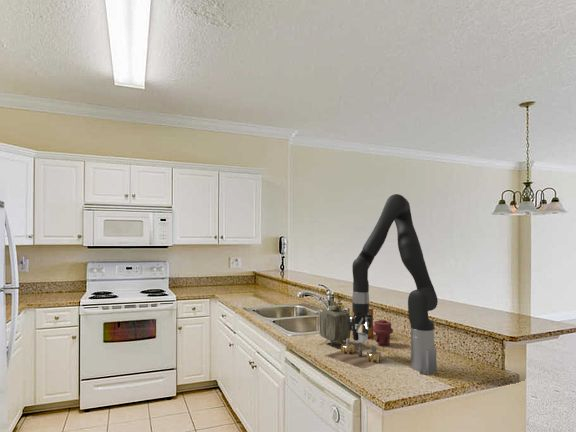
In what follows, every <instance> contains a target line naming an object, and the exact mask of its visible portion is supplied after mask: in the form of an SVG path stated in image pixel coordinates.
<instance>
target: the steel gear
mask: <svg viewBox="0 0 576 432" xmlns="http://www.w3.org/2000/svg"><path fill="white" fill-rule="evenodd" d="M368 339H369V338H368V334H366V333H361V332H358V340H357V341H356V340H354V339H353V341H354V342H355V343H359V342H360V343H362V344H363V343H367V342H368V341H369V340H368Z"/></svg>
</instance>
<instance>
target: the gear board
mask: <svg viewBox="0 0 576 432" xmlns="http://www.w3.org/2000/svg"><path fill="white" fill-rule="evenodd" d="M350 344H351V343H350V338H347V339H346V346H350ZM371 351H372V354H376V352H377V347H376V345H372V346H371ZM324 356H325V357H327V358H331V359H334V360H336V361H339V362H342V363H345V364H348V365H351V366H354V367H356V368H360V369H366V368H369V367H371V366H375V365H378V364H381V363H384V362H386V361H387V360H385V359H382V358H381V362H379V363H376V362H373V363H372V362H370V361H367V353H363V342H362V343H360V342H358V351H356V350H355V353H354V354H343V353H342V352H341V350H340V351H335V352H332V353H328V354H324Z"/></svg>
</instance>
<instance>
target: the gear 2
mask: <svg viewBox="0 0 576 432" xmlns="http://www.w3.org/2000/svg"><path fill="white" fill-rule="evenodd" d="M366 355H367V361H370V362H372V363H373V362H376V363H378V364H380V363H379V362H381V359H382V352H378V351H376V354H372V350H371V351H367V352H366ZM381 363H382V362H381Z"/></svg>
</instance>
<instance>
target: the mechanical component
mask: <svg viewBox="0 0 576 432" xmlns="http://www.w3.org/2000/svg"><path fill="white" fill-rule="evenodd" d="M374 333H375V342H376V344H377V345H378V347H385V346H387V347H388V346H390V342H391V341H390V339H391V334H393V333H394V329H393V328H392V322H390V321H387V320H386V319H378V320H375V321H373V334H374Z"/></svg>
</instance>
